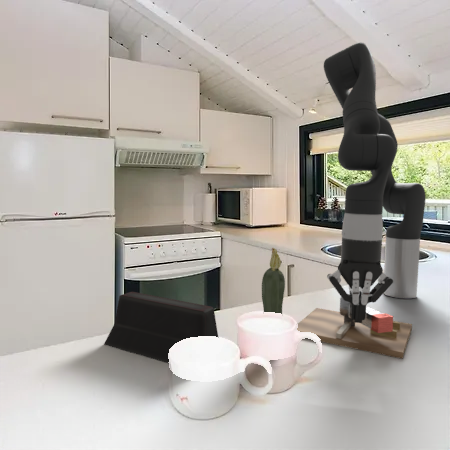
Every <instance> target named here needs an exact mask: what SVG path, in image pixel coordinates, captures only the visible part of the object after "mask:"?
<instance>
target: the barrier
mask: <svg viewBox="0 0 450 450" xmlns="http://www.w3.org/2000/svg"><path fill="white" fill-rule="evenodd" d="M217 326H218V325H217V321H216V315H215V309H214V307H213V306H209V305H205V304H204V305H203V304H199V303H193V302H188V301H183V300H177V299H172V298H168V297H161V296H159V295H158V296H157V295H151V294H147V293H146V294H145V293H141V292H136V291H129V292H126V293H124V294H120V295H119V296H118V301H117V308H116V312H115V320H114V324H113V325H112V328H111V330H110V332H109V334H108V336H107V337H106V340H105V342H104V343H103V345H105V346H106V347H110V348H114V349H117V350H121V351H124V352H128V353H132V354H135V355H137V356H141V357H145V358H149V359H152V360H154V361H155V360H156V361H159V362H162V363H165V364H169V363H168V362H169V359H168V353H169V349H170V348H171V347H172V346H173V345H174V344H175V343H177V342H179V341H181V340H183V339H186V338H190V337H198V336H216V337H218V338H219V332H218V327H217Z"/></svg>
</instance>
